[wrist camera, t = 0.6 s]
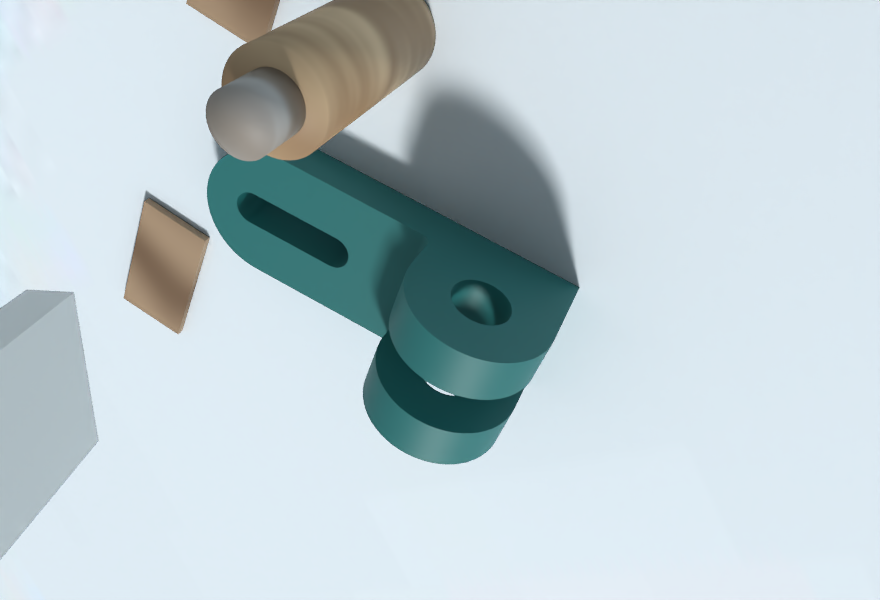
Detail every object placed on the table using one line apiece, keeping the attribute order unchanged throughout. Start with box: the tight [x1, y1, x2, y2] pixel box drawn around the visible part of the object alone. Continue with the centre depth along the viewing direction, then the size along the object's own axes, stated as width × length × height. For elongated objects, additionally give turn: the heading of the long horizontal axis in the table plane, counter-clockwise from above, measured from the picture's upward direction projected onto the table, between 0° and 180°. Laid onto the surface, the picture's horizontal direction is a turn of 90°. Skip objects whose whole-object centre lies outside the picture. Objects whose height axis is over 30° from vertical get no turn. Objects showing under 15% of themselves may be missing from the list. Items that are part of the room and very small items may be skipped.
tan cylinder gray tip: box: [206, 0, 436, 161], centre depth 29 cm, size 4×4×11 cm
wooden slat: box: [124, 0, 280, 334], centre depth 40 cm, size 28×4×1 cm, turn 154°
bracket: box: [207, 149, 579, 464], centre depth 36 cm, size 18×7×8 cm, turn 70°
